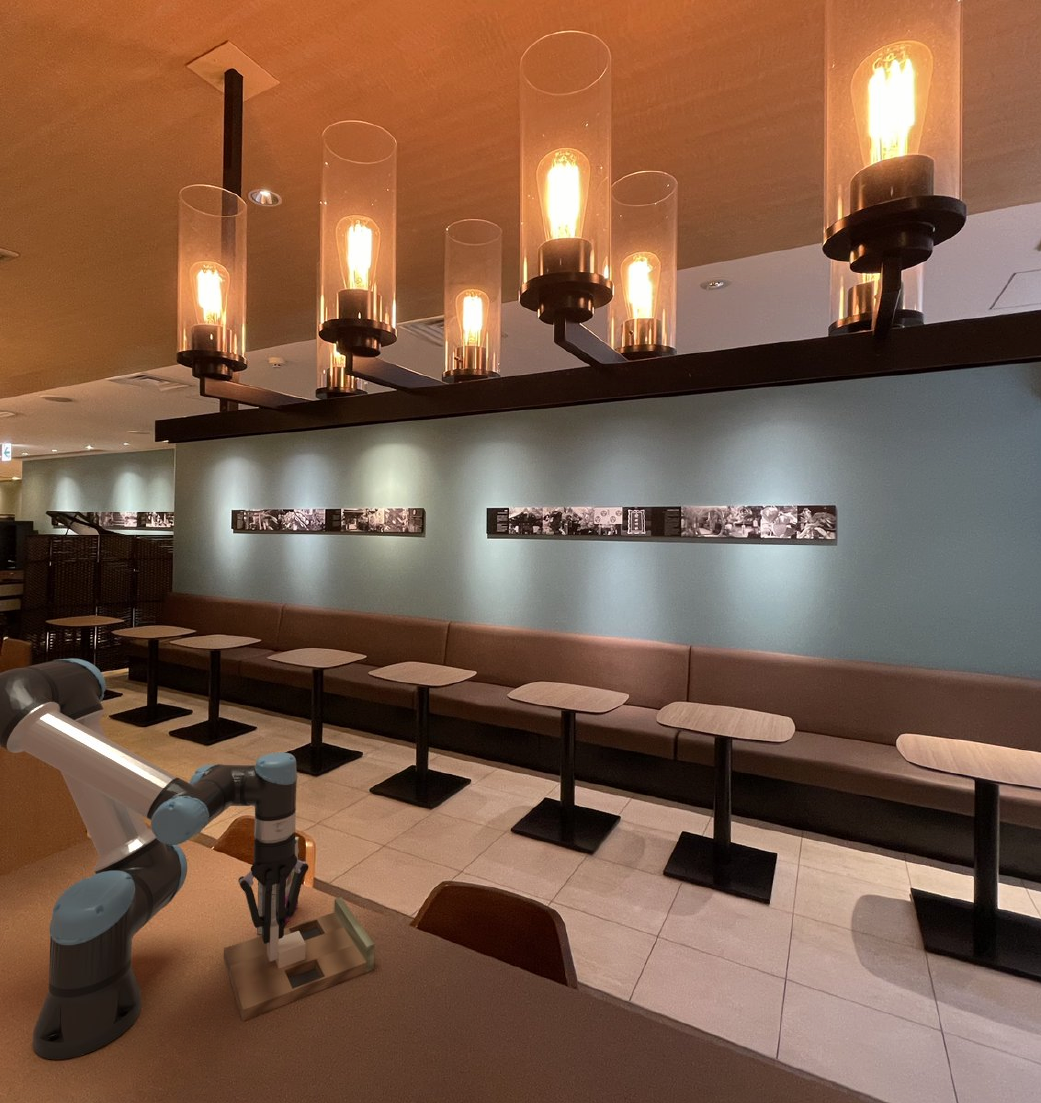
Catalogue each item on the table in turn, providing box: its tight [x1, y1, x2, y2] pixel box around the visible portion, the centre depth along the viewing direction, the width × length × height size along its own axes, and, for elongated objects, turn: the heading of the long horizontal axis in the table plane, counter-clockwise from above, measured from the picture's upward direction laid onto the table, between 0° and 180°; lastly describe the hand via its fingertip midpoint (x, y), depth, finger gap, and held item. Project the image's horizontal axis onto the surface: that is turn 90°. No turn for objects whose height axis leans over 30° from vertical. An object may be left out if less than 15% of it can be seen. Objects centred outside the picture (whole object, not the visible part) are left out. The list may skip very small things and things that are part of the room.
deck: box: [223, 896, 375, 1022], centre depth 119 cm, size 24×20×5 cm
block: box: [275, 931, 306, 968], centre depth 118 cm, size 5×5×3 cm
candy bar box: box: [256, 836, 300, 936], centre depth 133 cm, size 11×5×16 cm, turn 179°
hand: (272, 956), depth 116 cm, fingers closed
